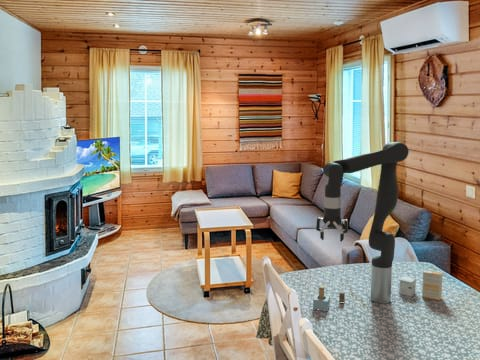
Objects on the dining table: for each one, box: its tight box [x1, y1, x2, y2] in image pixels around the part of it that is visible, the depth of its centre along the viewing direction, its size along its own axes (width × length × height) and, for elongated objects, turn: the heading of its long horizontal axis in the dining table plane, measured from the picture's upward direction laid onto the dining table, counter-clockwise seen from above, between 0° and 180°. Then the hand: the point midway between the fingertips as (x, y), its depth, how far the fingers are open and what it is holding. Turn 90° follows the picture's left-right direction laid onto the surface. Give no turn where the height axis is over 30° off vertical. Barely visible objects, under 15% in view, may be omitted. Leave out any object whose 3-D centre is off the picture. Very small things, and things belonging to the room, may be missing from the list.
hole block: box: [312, 293, 331, 311], centre depth 204 cm, size 6×6×5 cm
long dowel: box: [318, 285, 325, 300], centre depth 203 cm, size 2×2×10 cm
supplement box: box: [421, 268, 444, 301], centre depth 213 cm, size 8×5×13 cm, turn 58°
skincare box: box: [398, 276, 417, 297], centre depth 219 cm, size 6×6×7 cm
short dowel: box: [338, 291, 346, 303], centre depth 210 cm, size 2×2×4 cm
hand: (331, 240), depth 206 cm, fingers open, 8 cm apart
